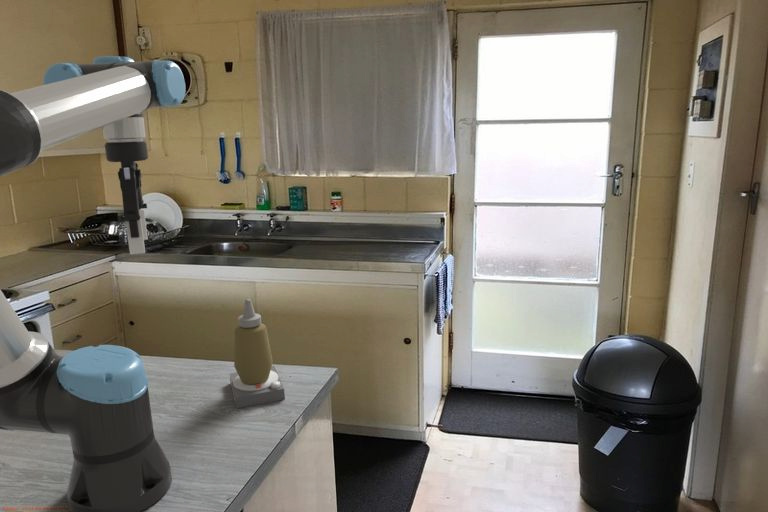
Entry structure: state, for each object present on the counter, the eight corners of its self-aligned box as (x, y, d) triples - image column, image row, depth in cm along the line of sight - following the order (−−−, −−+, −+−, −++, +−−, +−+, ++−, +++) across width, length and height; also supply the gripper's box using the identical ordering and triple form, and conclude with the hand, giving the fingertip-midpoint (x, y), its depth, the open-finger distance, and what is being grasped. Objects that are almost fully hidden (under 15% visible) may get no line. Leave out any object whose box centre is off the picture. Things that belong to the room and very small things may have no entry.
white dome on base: (284, 399, 119) (283, 385, 119) (236, 408, 116) (234, 394, 115) (275, 375, 130) (274, 362, 130) (230, 383, 127) (229, 370, 126)
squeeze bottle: (279, 372, 126) (273, 294, 121) (265, 389, 118) (259, 307, 114) (244, 370, 127) (237, 293, 123) (229, 387, 119) (221, 305, 115)
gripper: (110, 139, 121) (124, 236, 126) (96, 143, 98) (113, 262, 103) (148, 137, 124) (160, 233, 129) (143, 142, 101) (157, 257, 106)
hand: (139, 246), depth 116 cm, fingers open, 13 cm apart
